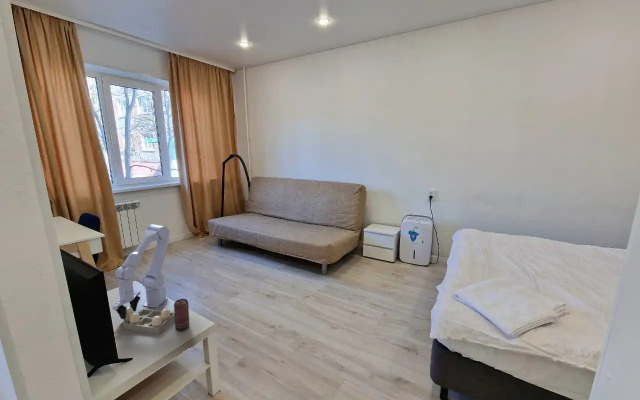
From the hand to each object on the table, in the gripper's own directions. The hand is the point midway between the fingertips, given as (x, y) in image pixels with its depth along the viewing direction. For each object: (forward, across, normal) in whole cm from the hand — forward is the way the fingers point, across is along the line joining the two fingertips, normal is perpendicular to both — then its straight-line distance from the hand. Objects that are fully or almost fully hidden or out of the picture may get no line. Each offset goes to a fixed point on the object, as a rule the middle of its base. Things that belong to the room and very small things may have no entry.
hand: (128, 314), depth 136 cm
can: (+2, +2, +31) cm, 31 cm away
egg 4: (+1, -1, +20) cm, 20 cm away
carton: (+2, +2, +14) cm, 14 cm away
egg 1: (+2, 0, 0) cm, 2 cm away
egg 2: (+1, +5, +8) cm, 10 cm away
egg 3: (+1, +5, +20) cm, 21 cm away
